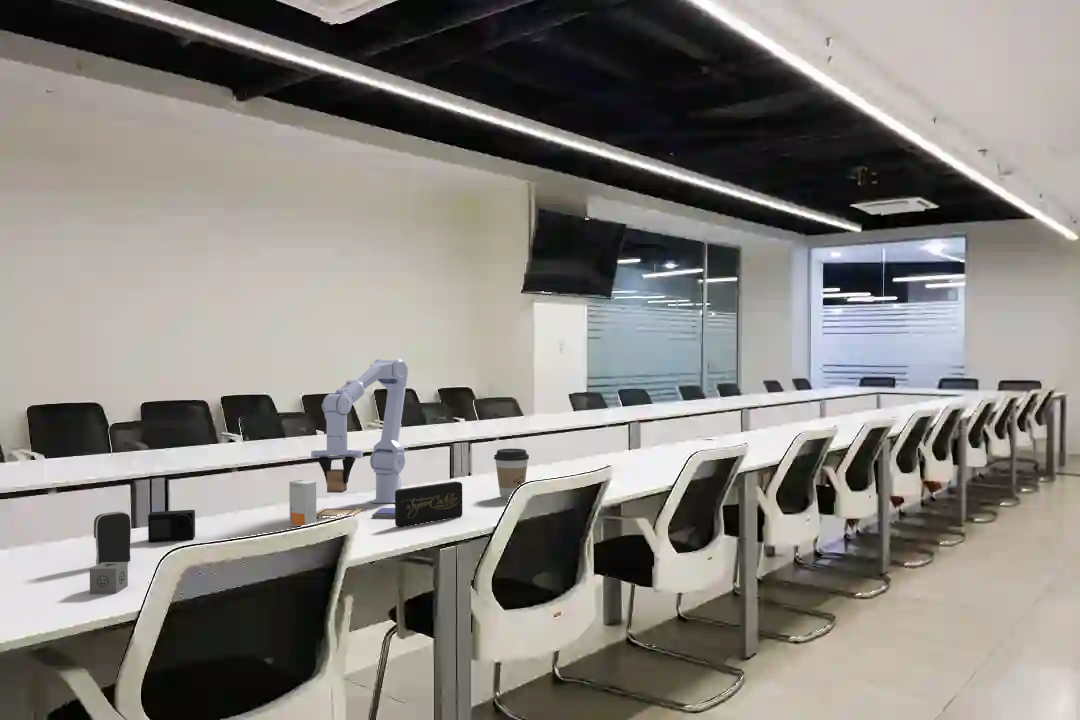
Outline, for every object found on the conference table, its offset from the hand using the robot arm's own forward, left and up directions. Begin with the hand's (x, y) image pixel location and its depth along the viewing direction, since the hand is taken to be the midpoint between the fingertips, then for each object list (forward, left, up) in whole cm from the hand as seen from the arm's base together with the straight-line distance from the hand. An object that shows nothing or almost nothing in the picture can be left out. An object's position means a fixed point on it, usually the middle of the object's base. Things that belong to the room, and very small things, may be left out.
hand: (337, 483), depth 236 cm
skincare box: (+16, -4, -9) cm, 19 cm away
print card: (0, 0, -9) cm, 9 cm away
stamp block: (0, 0, -2) cm, 2 cm away
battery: (+56, -33, -9) cm, 66 cm away
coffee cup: (-28, +48, -9) cm, 56 cm away
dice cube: (+75, -22, -9) cm, 79 cm away
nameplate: (+9, +29, -9) cm, 31 cm away
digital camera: (+33, -32, -9) cm, 47 cm away
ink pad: (+1, +16, -9) cm, 18 cm away
